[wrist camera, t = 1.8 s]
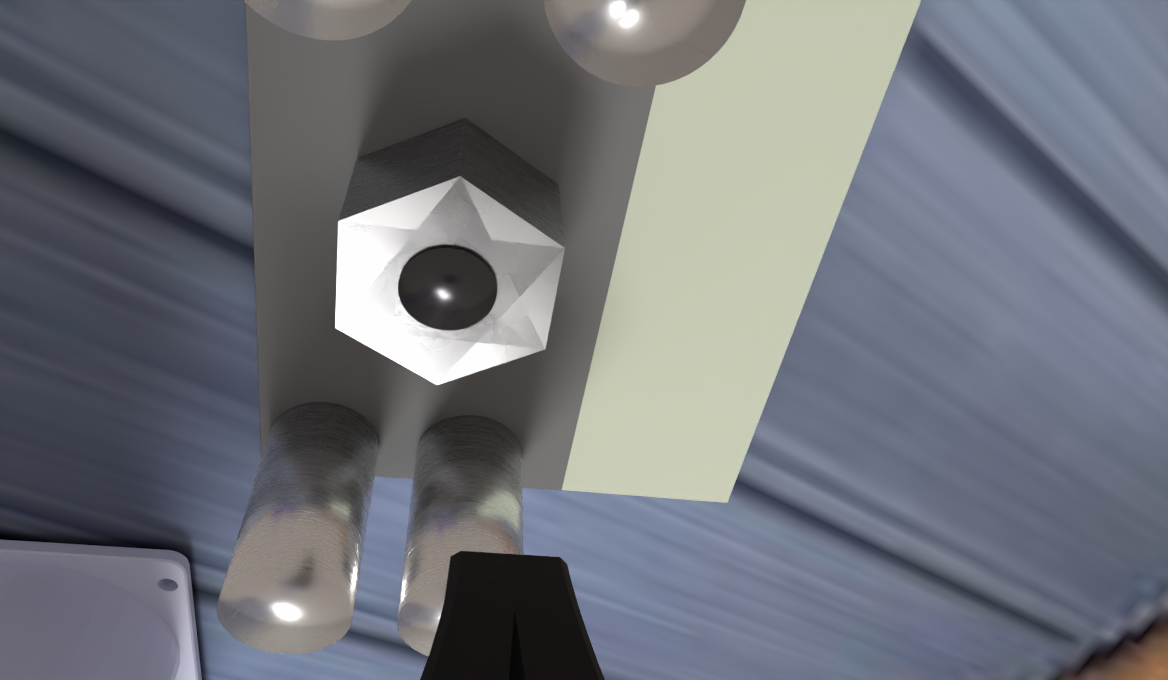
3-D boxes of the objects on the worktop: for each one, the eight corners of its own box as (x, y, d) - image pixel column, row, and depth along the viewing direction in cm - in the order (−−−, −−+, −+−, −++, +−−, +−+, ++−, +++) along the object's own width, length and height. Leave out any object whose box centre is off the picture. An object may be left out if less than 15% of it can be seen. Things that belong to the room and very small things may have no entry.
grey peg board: (552, 498, 24) (561, 666, 20) (270, 476, 23) (220, 650, 19) (703, -170, 15) (775, -108, 11) (249, -261, 14) (146, -227, 10)
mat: (724, 492, 25) (727, 503, 25) (265, 456, 23) (261, 467, 23) (950, -103, 16) (959, -98, 16) (243, -243, 14) (236, -240, 14)
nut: (590, 262, 20) (601, 333, 18) (396, 329, 20) (383, 404, 18) (521, 96, 17) (523, 154, 15) (304, 177, 18) (278, 244, 16)
